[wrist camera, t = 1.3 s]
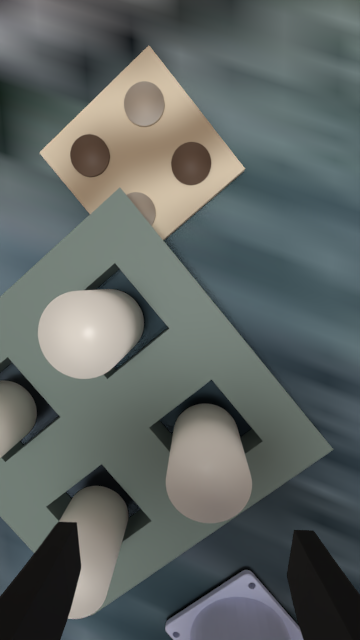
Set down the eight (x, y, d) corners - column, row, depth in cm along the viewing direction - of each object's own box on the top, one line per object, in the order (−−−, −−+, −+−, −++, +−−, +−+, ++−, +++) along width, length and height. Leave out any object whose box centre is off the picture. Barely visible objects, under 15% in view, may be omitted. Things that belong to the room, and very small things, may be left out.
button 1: (141, 519, 19) (123, 592, 14) (95, 552, 19) (65, 632, 15) (101, 474, 19) (70, 534, 14) (56, 508, 19) (13, 576, 15)
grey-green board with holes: (319, 432, 20) (333, 449, 18) (101, 585, 22) (91, 615, 20) (128, 197, 18) (119, 187, 16) (-81, 386, 21) (-110, 396, 19)
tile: (243, 171, 18) (245, 167, 17) (134, 266, 19) (132, 265, 18) (150, 50, 17) (148, 42, 17) (42, 155, 18) (37, 151, 18)
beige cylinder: (251, 439, 18) (269, 491, 13) (200, 476, 18) (202, 538, 14) (210, 390, 18) (215, 426, 13) (160, 429, 18) (148, 476, 14)
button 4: (157, 327, 17) (144, 342, 13) (108, 368, 18) (78, 396, 13) (114, 275, 17) (84, 271, 13) (65, 317, 17) (20, 329, 13)
